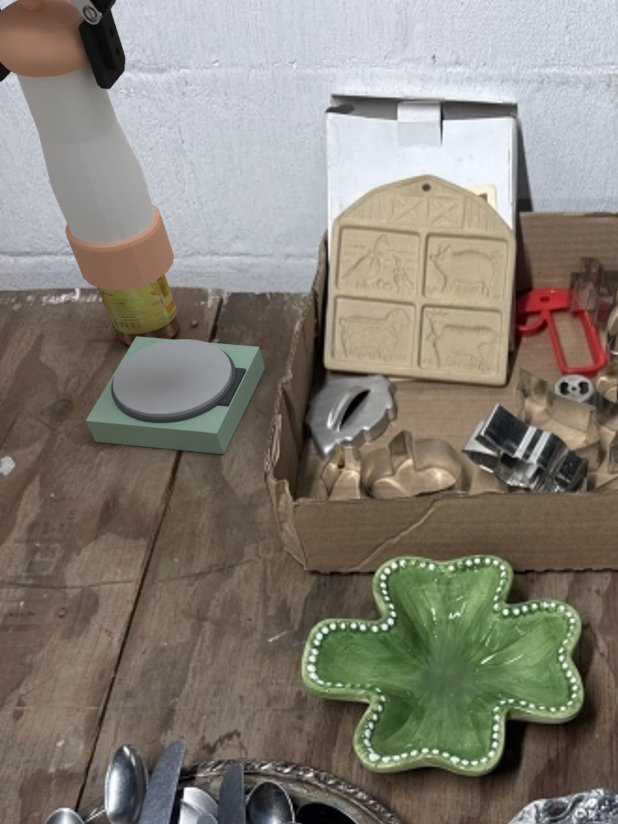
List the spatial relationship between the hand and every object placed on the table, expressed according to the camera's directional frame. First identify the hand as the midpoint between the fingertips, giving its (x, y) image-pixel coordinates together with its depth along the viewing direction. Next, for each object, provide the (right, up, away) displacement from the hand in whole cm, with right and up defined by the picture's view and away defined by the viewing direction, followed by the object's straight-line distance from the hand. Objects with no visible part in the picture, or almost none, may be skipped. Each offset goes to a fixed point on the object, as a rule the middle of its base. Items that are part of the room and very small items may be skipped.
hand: (58, 74), depth 73 cm
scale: (0, -15, +24) cm, 29 cm away
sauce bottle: (-5, -7, +31) cm, 32 cm away
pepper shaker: (0, -8, +12) cm, 14 cm away
